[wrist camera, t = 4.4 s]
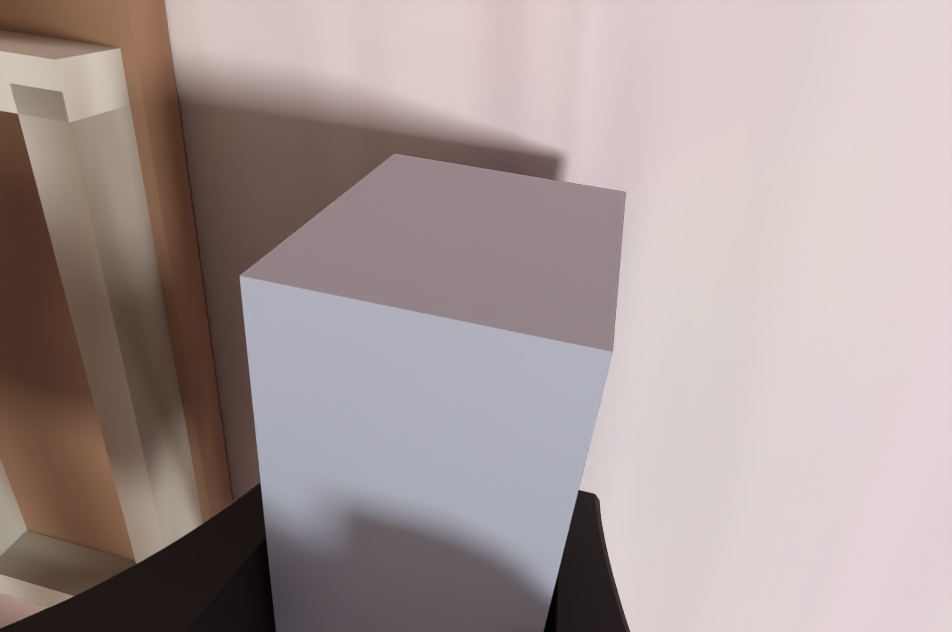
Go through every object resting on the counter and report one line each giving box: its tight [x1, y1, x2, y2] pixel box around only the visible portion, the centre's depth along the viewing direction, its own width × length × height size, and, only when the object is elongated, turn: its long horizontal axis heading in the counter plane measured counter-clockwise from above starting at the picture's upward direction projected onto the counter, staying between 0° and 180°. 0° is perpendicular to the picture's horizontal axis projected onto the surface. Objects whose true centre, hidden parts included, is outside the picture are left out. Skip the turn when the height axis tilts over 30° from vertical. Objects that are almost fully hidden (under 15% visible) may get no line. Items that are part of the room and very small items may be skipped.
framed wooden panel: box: [0, 0, 233, 608], centre depth 16 cm, size 8×18×2 cm, turn 174°
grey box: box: [239, 153, 626, 632], centre depth 12 cm, size 4×12×5 cm, turn 175°
